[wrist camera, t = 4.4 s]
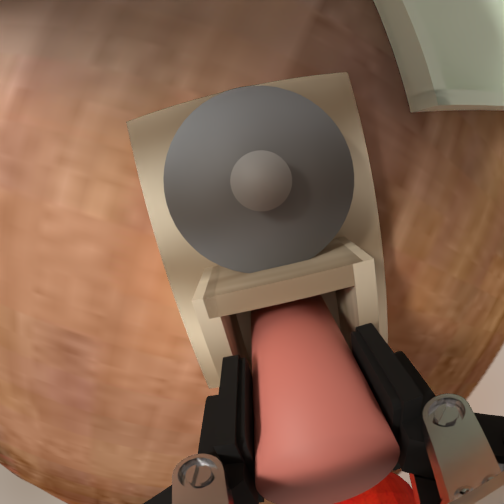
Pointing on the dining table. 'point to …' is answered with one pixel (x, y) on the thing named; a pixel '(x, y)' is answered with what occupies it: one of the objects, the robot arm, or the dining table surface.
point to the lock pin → (313, 409)
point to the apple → (385, 493)
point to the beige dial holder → (262, 209)
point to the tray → (448, 52)
